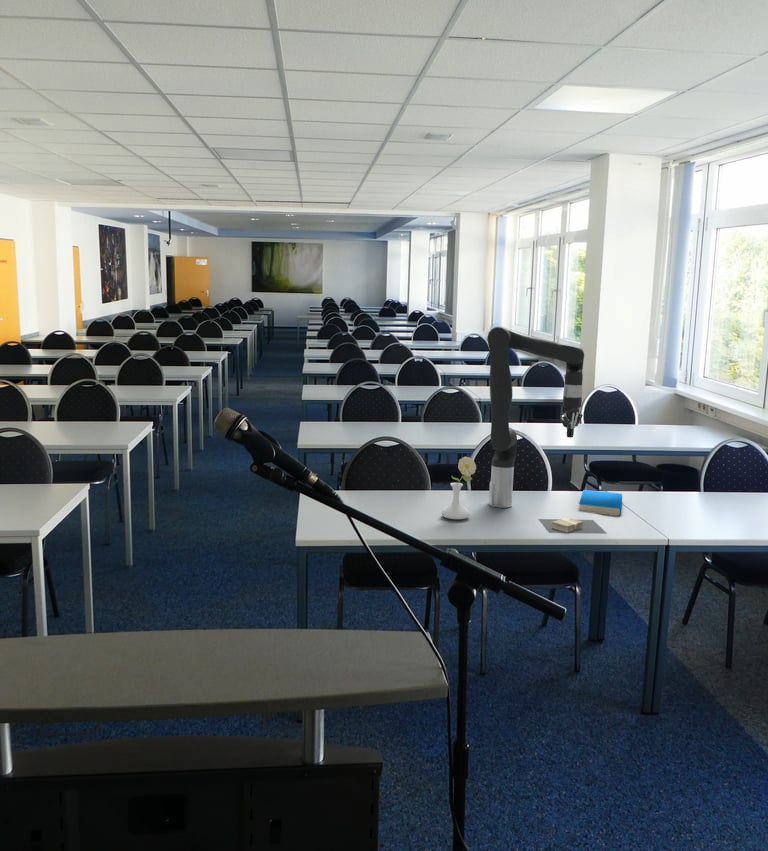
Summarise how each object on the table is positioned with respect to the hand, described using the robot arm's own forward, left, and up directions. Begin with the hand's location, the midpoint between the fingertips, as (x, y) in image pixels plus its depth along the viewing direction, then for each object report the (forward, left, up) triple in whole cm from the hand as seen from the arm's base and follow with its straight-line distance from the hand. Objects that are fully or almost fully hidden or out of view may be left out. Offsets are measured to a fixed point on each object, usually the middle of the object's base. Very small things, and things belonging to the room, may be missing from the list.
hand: (569, 437), depth 323 cm
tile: (-2, -24, -29) cm, 38 cm away
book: (+18, +7, -32) cm, 37 cm away
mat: (-4, -25, -31) cm, 40 cm away
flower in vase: (-47, -14, -31) cm, 58 cm away
